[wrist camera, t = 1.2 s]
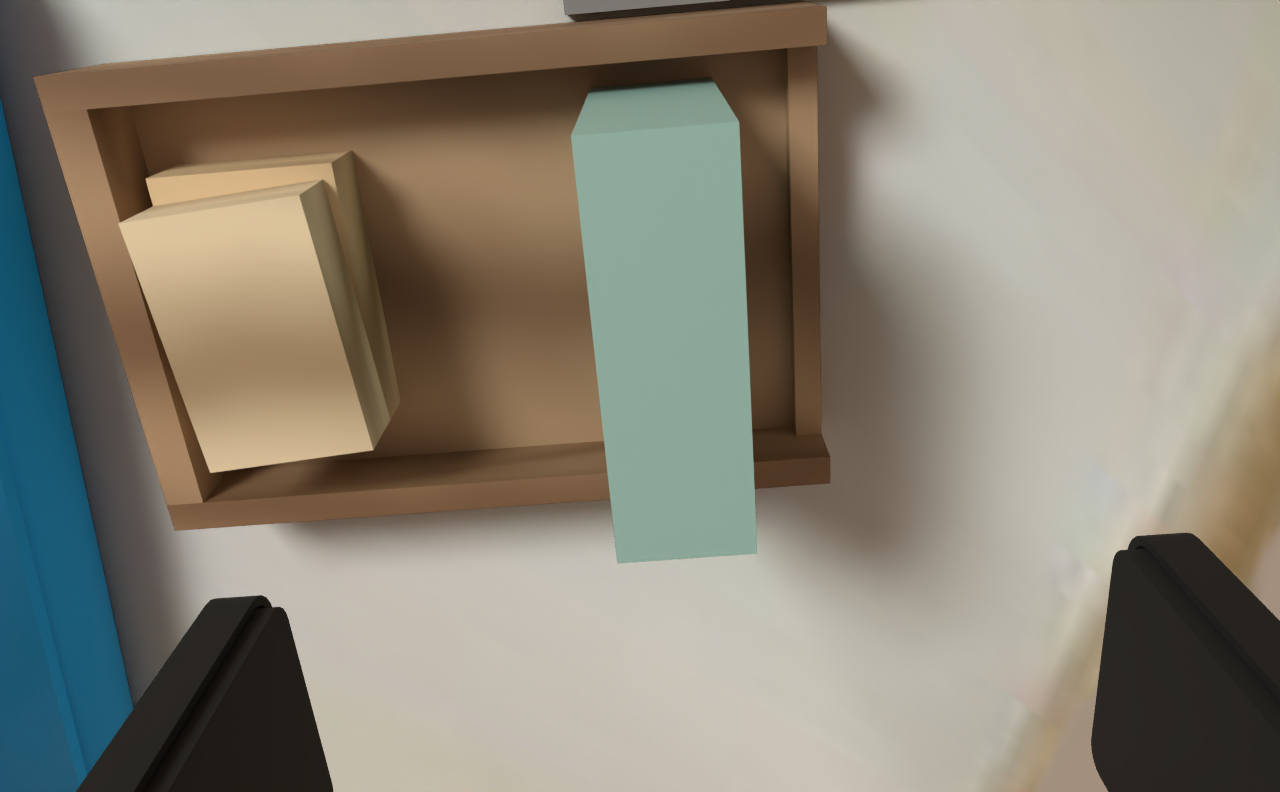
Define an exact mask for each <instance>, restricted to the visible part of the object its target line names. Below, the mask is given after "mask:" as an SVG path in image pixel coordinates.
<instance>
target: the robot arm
mask: <svg viewBox="0 0 1280 792" xmlns="http://www.w3.org/2000/svg"><path fill="white" fill-rule="evenodd" d="M1091 746H1092V754H1093V759H1094V763H1095V766H1096V769H1097V771H1098V773H1099V775H1100V777H1101V779H1102V781H1103V783H1104V785H1105V786H1106V788H1107V790H1108V791H1109V792H1280V621H1279V620H1278V619H1277V618H1276V617H1275V616H1274V615H1273V614H1272V613H1271V612H1270V611H1269V610H1268V609H1267V608H1266V606H1265V605H1264V604H1263V603H1262V602H1261V601H1260V600H1259V599H1258V598H1257V597H1256V596H1255V595H1254V594H1253V593H1252V592H1251V591H1250V590H1249V589H1248V588H1247V587H1246V586H1245V585H1244V584H1243V583H1242V582H1241V581H1240V580H1239V579H1238V578H1237V577H1236V576H1235V575H1234V574H1233V573H1232V572H1231V571H1230V570H1229V569H1228V568H1227V567H1226V566H1225V565H1224V564H1223V563H1222V562H1221V561H1220V560H1219V559H1218V558H1217V557H1216V556H1215V555H1214V554H1213V553H1212V551H1211V550H1210V549H1209V548H1208V547H1207V546H1206V545H1205V544H1204V543H1203V542H1202V541H1201V540H1200V539H1199V538H1197V537H1196V536H1195V535H1193V534H1191V533H1176V534H1161V535H1146V536H1137V537H1135V538H1133V539H1132V541H1131V542H1130V544H1129V547H1128V550H1120V551H1118V552H1117V553H1116V555H1115V556H1114V560H1113V565H1112V573H1111V581H1110V590H1109V598H1108V606H1107V614H1106V622H1105V631H1104V639H1103V647H1102V655H1101V664H1100V672H1099V680H1098V688H1097V697H1096V705H1095V713H1094V722H1093V730H1092V739H1091ZM76 792H333V786H332V782H331V778H330V774H329V770H328V767H327V763H326V759H325V755H324V751H323V748H322V744H321V740H320V736H319V733H318V729H317V725H316V721H315V718H314V714H313V710H312V706H311V703H310V699H309V695H308V691H307V687H306V684H305V680H304V676H303V672H302V669H301V665H300V661H299V657H298V654H297V650H296V646H295V642H294V639H293V635H292V631H291V627H290V623H289V620H288V617H287V614H286V612H285V611H284V609H283V608H281V607H272V606H271V603H270V602H269V600H268V599H267V598H266V597H264V596H262V595H261V596H246V597H232V598H217V599H213V600H210V601H209V602H208V603H207V604H206V605H205V607H204V608H203V610H202V611H201V612H200V614H199V615H198V617H197V618H196V620H195V621H194V623H193V624H192V625H191V627H190V628H189V630H188V631H187V633H186V634H185V635H184V637H183V638H182V640H181V641H180V643H179V644H178V646H177V647H176V648H175V650H174V651H173V653H172V654H171V656H170V657H169V658H168V660H167V661H166V663H165V664H164V666H163V667H162V669H161V670H160V671H159V673H158V674H157V676H156V677H155V679H154V680H153V681H152V683H151V684H150V686H149V687H148V689H147V690H146V691H145V693H144V694H143V696H142V697H141V699H140V700H139V702H138V703H137V704H136V706H135V707H134V709H133V710H132V712H131V713H130V714H129V716H128V717H127V719H126V720H125V722H124V723H123V725H122V726H121V727H120V729H119V730H118V732H117V733H116V735H115V736H114V737H113V739H112V740H111V742H110V743H109V745H108V746H107V748H106V749H105V750H104V752H103V753H102V755H101V756H100V758H99V759H98V760H97V762H96V763H95V765H94V766H93V768H92V769H91V770H90V772H89V773H88V775H87V776H86V778H85V779H84V781H83V782H82V783H81V785H80V786H79V788H78V789H77V791H76Z"/></svg>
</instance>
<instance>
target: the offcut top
mask: <svg viewBox="0 0 1280 792" xmlns="http://www.w3.org/2000/svg"><path fill="white" fill-rule="evenodd" d="M118 224H119V227H120V230H121V233H122V235H123V238H124V241H125V243H126V246H127V249H128V252H129V254H130V257H131V260H132V262H133V265H134V268H135V270H136V273H137V276H138V279H139V281H140V284H141V287H142V289H143V292H144V295H145V298H146V300H147V303H148V306H149V308H150V311H151V314H152V317H153V319H154V322H155V325H156V327H157V330H158V333H159V336H160V338H161V341H162V344H163V346H164V349H165V352H166V355H167V357H168V360H169V363H170V365H171V368H172V371H173V374H174V376H175V379H176V382H177V384H178V387H179V390H180V392H181V395H182V398H183V401H184V403H185V406H186V409H187V411H188V414H189V417H190V420H191V422H192V425H193V428H194V430H195V433H196V436H197V439H198V441H199V444H200V447H201V449H202V452H203V455H204V458H205V460H206V463H207V466H208V468H209V471H210V473H214V472H221V471H228V470H236V469H243V468H250V467H257V466H264V465H271V464H279V463H286V462H293V461H300V460H307V459H314V458H321V457H329V456H336V455H343V454H350V453H357V452H364V451H372V450H374V448H375V446H376V445H377V443H378V441H379V439H380V437H381V436H382V434H383V432H384V430H385V428H386V426H387V425H388V423H389V421H390V417H389V413H388V410H387V406H386V403H385V399H384V395H383V392H382V388H381V385H380V381H379V378H378V374H377V370H376V367H375V363H374V360H373V356H372V353H371V349H370V346H369V342H368V338H367V335H366V331H365V328H364V324H363V321H362V317H361V313H360V310H359V306H358V303H357V299H356V296H355V292H354V288H353V285H352V281H351V278H350V274H349V271H348V267H347V263H346V260H345V256H344V253H343V249H342V246H341V242H340V239H339V235H338V231H337V228H336V224H335V221H334V217H333V214H332V210H331V206H330V203H329V199H328V196H327V192H326V189H325V185H324V181H323V179H321V180H314V181H308V182H301V183H295V184H289V185H282V186H276V187H270V188H263V189H257V190H251V191H244V192H238V193H232V194H225V195H219V196H213V197H206V198H200V199H194V200H187V201H181V202H175V203H168V204H162V205H156V206H153V207H151V208H149V209H147V210H145V211H143V212H141V213H139V214H136V215H134V216H132V217H130V218H128V219H126V220H124V221H122V222H120V223H118Z"/></svg>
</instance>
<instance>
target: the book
mask: <svg viewBox="0 0 1280 792" xmlns="http://www.w3.org/2000/svg"><path fill="white" fill-rule="evenodd" d="M133 709H134V708H133V704H132V699H131V695H130V690H129V685H128V681H127V676H126V672H125V667H124V662H123V658H122V653H121V649H120V644H119V640H118V635H117V630H116V626H115V621H114V617H113V612H112V607H111V603H110V598H109V594H108V589H107V584H106V580H105V575H104V571H103V566H102V562H101V557H100V552H99V548H98V543H97V539H96V534H95V529H94V525H93V520H92V516H91V511H90V506H89V502H88V497H87V493H86V488H85V484H84V479H83V474H82V470H81V465H80V461H79V456H78V451H77V447H76V442H75V438H74V433H73V428H72V424H71V419H70V415H69V410H68V406H67V401H66V396H65V392H64V387H63V383H62V378H61V373H60V369H59V364H58V360H57V355H56V351H55V346H54V341H53V337H52V332H51V328H50V323H49V318H48V314H47V309H46V305H45V300H44V295H43V291H42V286H41V282H40V277H39V273H38V268H37V263H36V259H35V254H34V250H33V245H32V240H31V236H30V231H29V227H28V222H27V217H26V213H25V208H24V204H23V199H22V195H21V190H20V185H19V181H18V176H17V172H16V167H15V162H14V158H13V153H12V149H11V144H10V140H9V135H8V130H7V126H6V121H5V117H4V112H3V107H2V103H1V98H0V792H76V791H77V789H78V788H79V786H80V785H81V783H82V782H83V781H84V779H85V778H86V776H87V775H88V773H89V772H90V770H91V769H92V768H93V766H94V765H95V763H96V762H97V760H98V759H99V758H100V756H101V755H102V753H103V752H104V750H105V749H106V748H107V746H108V745H109V743H110V742H111V740H112V739H113V737H114V736H115V735H116V733H117V732H118V730H119V729H120V727H121V726H122V725H123V723H124V722H125V720H126V719H127V717H128V716H129V714H130V713H131V712H132V710H133Z"/></svg>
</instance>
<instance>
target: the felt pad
mask: <svg viewBox="0 0 1280 792" xmlns="http://www.w3.org/2000/svg"><path fill="white" fill-rule="evenodd" d="M563 1H564V11H565V15H571V14H582V13H594V12H605V11H616V10H627V9H638V8H650V7H661V6H672V5H683V4H694V3H706V2H717V1H728V0H563Z"/></svg>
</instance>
